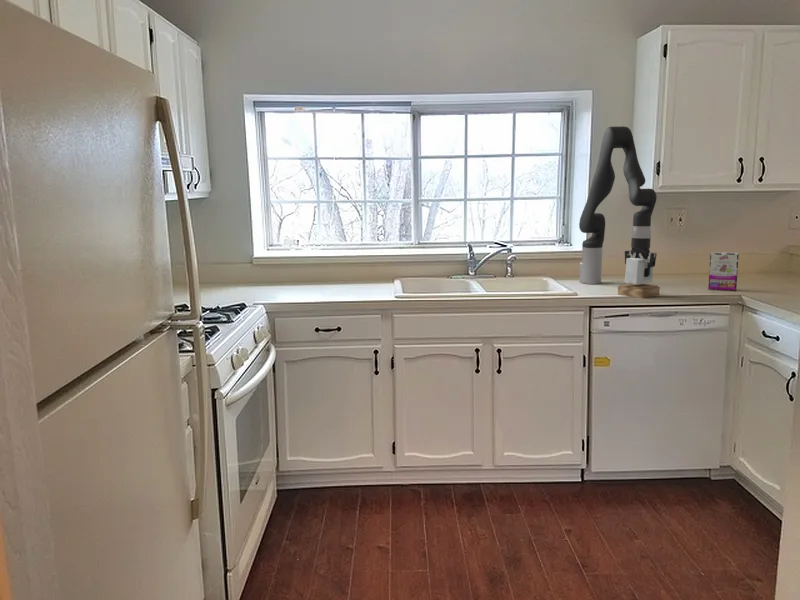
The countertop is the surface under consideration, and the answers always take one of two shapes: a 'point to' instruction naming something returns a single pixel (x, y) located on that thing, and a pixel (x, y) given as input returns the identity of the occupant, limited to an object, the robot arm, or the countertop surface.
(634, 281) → the skincare box
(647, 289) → the oak plinth
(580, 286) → the countertop surface
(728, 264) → the candy bar box
